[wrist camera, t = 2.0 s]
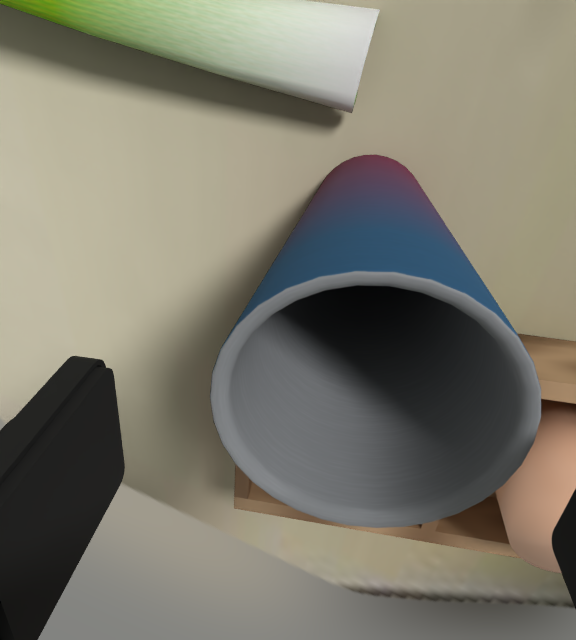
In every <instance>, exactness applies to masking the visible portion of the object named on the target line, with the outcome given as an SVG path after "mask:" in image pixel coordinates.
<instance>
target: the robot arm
mask: <svg viewBox="0 0 576 640" xmlns="http://www.w3.org/2000/svg"><path fill="white" fill-rule="evenodd" d="M124 469H125V465H124V456H123V448H122V440H121V431H120V423H119V415H118V406H117V398H116V390H115V381H114V374H113V371H112V369H110V368H106V366H105V363H104V361H103V360H100V359H93V358H86V357H79V356H72V357H70V358H69V359H68V360H67V361H66V362H65V363H64V364H63V365H62V366H61V367H60V368H59V369H58V370H57V372H56V373H55V374H54V375H53V376H52V377H51V378H50V379H49V380H48V381H47V383H46V384H45V385H44V386H43V387H42V388H41V389H40V390H39V391H38V392H37V394H36V395H35V396H34V397H33V398H32V399H31V400H30V401H29V402H28V403H27V404H26V406H25V407H24V408H23V409H22V410H21V411H20V412H19V413H18V414H17V415H16V417H15V418H14V419H12V420H11V421H9V422H8V423H7V424H6V425H5V426H4V427H3V428H2V429H1V430H0V640H37V639H38V638H39V636H40V634H41V632H42V630H43V629H44V626H45V625H46V623H47V621H48V619H49V617H50V615H51V613H52V612H53V610H54V608H55V606H56V604H57V602H58V600H59V599H60V597H61V595H62V593H63V591H64V589H65V587H66V585H67V583H68V582H69V580H70V578H71V576H72V574H73V572H74V570H75V568H76V566H77V565H78V563H79V561H80V559H81V557H82V555H83V554H84V552H85V550H86V548H87V546H88V544H89V542H90V540H91V538H92V536H93V535H94V533H95V531H96V529H97V527H98V525H99V523H100V522H101V520H102V518H103V516H104V514H105V512H106V510H107V509H108V507H109V505H110V503H111V501H112V499H113V497H114V495H115V494H116V492H117V490H118V488H119V486H120V484H121V482H122V479H123V475H124ZM552 548H553V552H554V555H555V557H556V560H557V562H558V565H559V567H560V570H561V573H562V575H563V578H564V580H565V583H566V585H567V588H568V591H569V593H570V596H571V598H572V601H573V603H574V606H575V609H576V489H575V491H574V492H573V494H572V496H571V498H570V500H569V502H568V504H567V506H566V507H565V509H564V511H563V513H562V515H561V517H560V519H559V521H558V522H557V524H556V526H555V528H554V530H553V533H552Z"/></svg>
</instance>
